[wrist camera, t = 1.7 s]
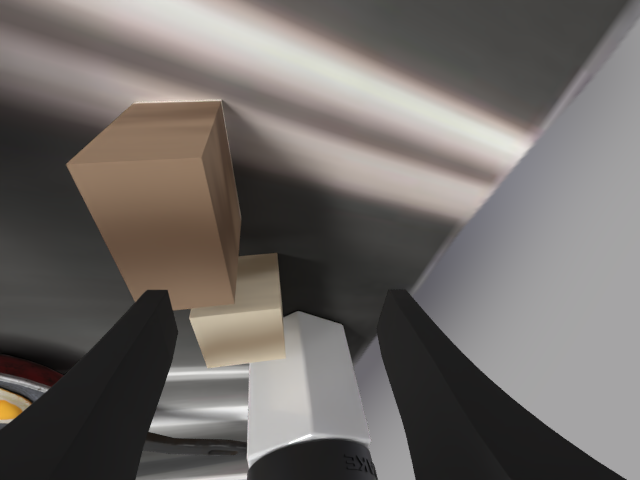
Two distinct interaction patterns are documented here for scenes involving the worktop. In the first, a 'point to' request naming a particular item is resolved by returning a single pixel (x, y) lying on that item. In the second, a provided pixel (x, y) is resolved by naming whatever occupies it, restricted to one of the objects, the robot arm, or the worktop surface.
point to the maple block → (245, 317)
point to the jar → (308, 408)
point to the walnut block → (166, 200)
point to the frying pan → (34, 379)
